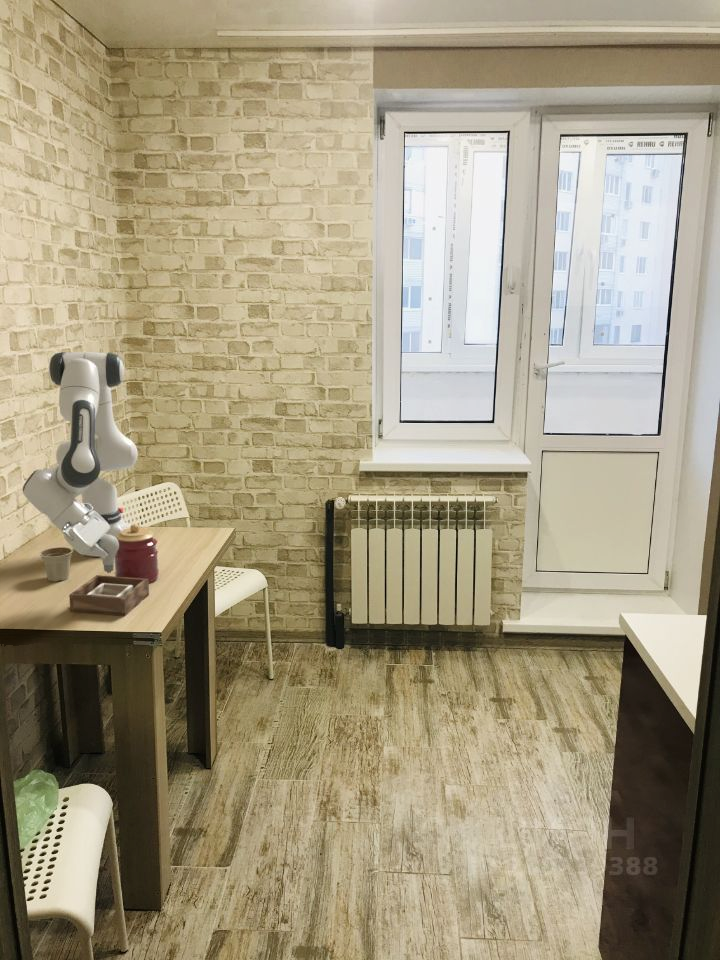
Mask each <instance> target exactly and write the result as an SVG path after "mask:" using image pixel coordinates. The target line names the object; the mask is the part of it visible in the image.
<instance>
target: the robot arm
mask: <svg viewBox="0 0 720 960" xmlns="http://www.w3.org/2000/svg"><path fill="white" fill-rule="evenodd" d="M48 372H49V373H48V374H49V376H50V380H51V381H52V382H53V383H54V384H55V385H56V386H59V395H58V404H59V405H58V407H59V413H60V415H61V417H63V419H65V421H68V422H70V440H66V441H63V442H61V443H60V444H59V446H58V448H57V449H56V454H55V457H56V462H57V464H58V465H57V466H54V467H51V468H45V469H36V470H34V471H33V472H32V473H31V474H30V476H29V477H28V478H27V479H26V481H25V482H24V484H23V486H22V494H23V496H24V497H25V498H26V500H28V502H29V503H30V504H32V505H33V507H35V509H36V510H38V511H39V512H40V513H42V514H44V515H45V516H47V518H48V519H49V520H50V522H51V523H52V524H53V525H54V526H55V527H56V528H58V529H59V531H61V533H62V534H63V535H64V537H63V538H64V540H65V541H66V542H67V543H68V544H69V546H70V547H72V548H73V549H74V550H75V551H76V552H77V553H78V554H80V555H82V556H88V557H100V558H101V560H102V559H105V558H106V557H107V556H108V554H109V553H108V552H107V551H106V550H105V549H104V550H103V549H101V548H100V547H98V546H99V545H97V544H96V543H97V541H98V540H99V539H100V538H101V536H103V535H113V536H114V537H116V535H117V534H119V533H120V532H121V531H123V530H125V529H130V527H131V525H130V524H129V523H127V522H126V521H124V520H123V519H122V515H121V514H123V513H124V507H119V506H118V504H119V503H118V490H117V487H116V486H115V485H114V484H112V482H109V481H108V480H105V479H102V478H100V473H101V472H107V471H108V472H109V471H111V472H112V471H121V470H122V471H123V470H126V469H129V468H132V467H134V466H135V464H136V462H137V460H138V458H139V457H138V456H139V451H138V448H137V445H136V444H135V443H134V441H133V440H131V439H130V438H128V437H127V436H125V435H124V434H123V433H122V432H121V431H120V430H119V428H118V426H117V424H116V423H115V418H114V412H113V398H112V390H111V388H114V387H118V386H119V385H121V383H122V382H123V379H124V376H125V373H126V372H125V365H124V363H123V359H122V358H121V356H119V354H116V353H112V352H107V353H105V352H97V351H74V352H72V351H71V352H66V351H62V352H61V351H60V352H57V353H55V354H53V355H52V356H51V358H50V360H49V363H48ZM96 436H97V438H95V437H96ZM80 495H81V497H82V502H80V501H78V500H77V499H76V498H77V497H78V496H80Z"/></svg>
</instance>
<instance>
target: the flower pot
mask: <svg viewBox="0 0 720 960" xmlns="http://www.w3.org/2000/svg"><path fill="white" fill-rule="evenodd" d="M73 552H74V551H73V549H72V548H71V547H67V546H65V547H63V546H61V547H60V546H59V547H56V546H55V547H50V548H45V549H43V550H41V551H40V552H39V556H41V559H42V560H43V561H42V562H43V564H44V568H45V572H46V577H47V580H48V581H49V582H59V581H66V580H68V579H69V578H70V572H71V571H70V568H71V557H72V553H73Z"/></svg>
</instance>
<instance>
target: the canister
mask: <svg viewBox="0 0 720 960" xmlns="http://www.w3.org/2000/svg"><path fill="white" fill-rule="evenodd" d="M154 536H155V533H154V532H153V531H151V530H149V528H146V527H139V525H138V524H136V523H134V524H133V523H132V524H131V525H130V529H125V530H123V531H121V532H120V533H119V534H117V535H116V538H117V540H118V542H119V548H118V551H117V553H116V555H115V559H114V566H115V567H114V568H115V571H114V576H115V577H129V578H144V579H148V582H149V584H151V583H153V582H156V580H158V578H159V574H160V573H159V572H160V570H159V566H158V565H159V563H158V561H159V560H158V553H159V551H158V549H157V547H156V546H157V544H158V540H157V539H156V538H155V537H154Z"/></svg>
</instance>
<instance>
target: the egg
mask: <svg viewBox="0 0 720 960" xmlns="http://www.w3.org/2000/svg"><path fill="white" fill-rule="evenodd" d="M96 544H97V545H99V546H98V547H100V548H101V549H103V550H104V549H105V550H106V551H107V552H108V553H109V554H108V556H107V557H106V558H105V559H102V558H101V560H102V564H103V570H104V572H105V573H107V574H110V573H112V572H113V571H114V568H115V567H114V566H115V555H116V553H117V551H118V548H119V542H118V540H117V538H116V537H114V536H113V535H103V536H101V538H100V539H99V540H98V541H97V543H96Z"/></svg>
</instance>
